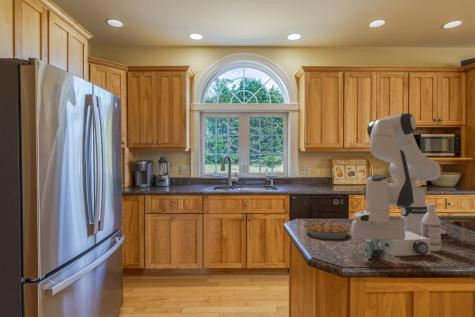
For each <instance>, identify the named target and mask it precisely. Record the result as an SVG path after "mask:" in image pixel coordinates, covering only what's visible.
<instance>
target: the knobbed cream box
mask: <svg viewBox="0 0 475 317" xmlns="http://www.w3.org/2000/svg"><path fill="white" fill-rule="evenodd" d="M379 242H380V241H379V239H376V242H375V243H376V245H378V244H379ZM380 251H383V252H385V253H387V254H390V255H391V256H393V257H402V256H425V255H430V254H431V253H430V252H431V251H430V239H428V238H426V237H423V236H422V235H418V234H415V233H412V232H409V231H405V239H404V240H384V243H383V245H382V246H381V250H380Z"/></svg>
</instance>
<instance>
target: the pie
mask: <svg viewBox="0 0 475 317" xmlns="http://www.w3.org/2000/svg"><path fill="white" fill-rule="evenodd" d="M305 229H306V230H307V232H308V234H309V236H311V237H314V238H318V239H328V240H341V239H345V238H346V237H347V234H348V233H349V231H350V229H349V227H348V226H346V225H343V224H340V223H332V222H329V223H328V222H315V223H313V222H311V223H309V224H307V225H306V227H305Z"/></svg>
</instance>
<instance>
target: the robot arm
mask: <svg viewBox="0 0 475 317" xmlns="http://www.w3.org/2000/svg"><path fill="white" fill-rule="evenodd" d="M416 128H417V120H416V118H415V116H414V115H413V114H411V113H408V112H405V113H401V114H395V115H388V116H386V117H382V118H379V119H375V120H372V121H370V122H369V123H368V125H367V128H366V129H367V135H368V137H369V151H370V153H371V154H372V155H373V157H374V158H376V159H378V160H380V161H381V162H382V161H383V162H386V163H389V167H388V170H389V171H388V172H389V175H391V178H393V179H394V180H395V181H396V182H389V179H388V177H387V176H385V175H380V174H379V175H378V174H377V175H370V176H368V177H367V178H366V186H365V187H364V188H363V190H364V191H363V192H364V194H363V195H364V196H363V197H364V200H365V201H366V203H365V210H361V211H358V212H354V214H353V218H354V219H353V220H352V222H351V226H350V236H351V237H352V238H353V239H354V240H355V239H359V240H369V239H371V241H372V243H373V245H374V249H373V251H382V250H381V246H382V245H383V243H384V240H404V239H405V231H409V232H412V233H415V234H417V235H420V236H422V219H423V217H424V215H425V214H426V213H427V205H426V192H425V190H424V189H423V188H422V187H419V185H417V183H416V181H422V182H423V181H424V182H427V181H436V180H437V179H439V177H440V176H441V173H442V170H441V166H440V164H439V163H438V162H437V161H435V160H433V159H431V158H429V157H428V156H426V155H425V153H423V152H422V151H421V149H420V148H419V145H418V144H417V141H416V138H415V137H414V136H415V135H414V134H413V133H414V132H415V131H416ZM390 206H391V207H392V206H393V207H398V208H400V214H401V216H399V215H397V216H396V215H395V216H394V215H390V214H391V213H390V210H391V209H390ZM446 234H447V231H446V230H444V229H442V228H441V235H446ZM376 239H379V241H380V242H379V244H378V245H376Z"/></svg>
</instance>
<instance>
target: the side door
mask: <svg viewBox="0 0 475 317" xmlns="http://www.w3.org/2000/svg"><path fill="white" fill-rule="evenodd" d="M364 249H365V250H364V251H365V253H366V259H370V260H371V258H372V254H373V253H374V245H373V243H372V241H371V239H367V243H366V245H365V247H364Z"/></svg>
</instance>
